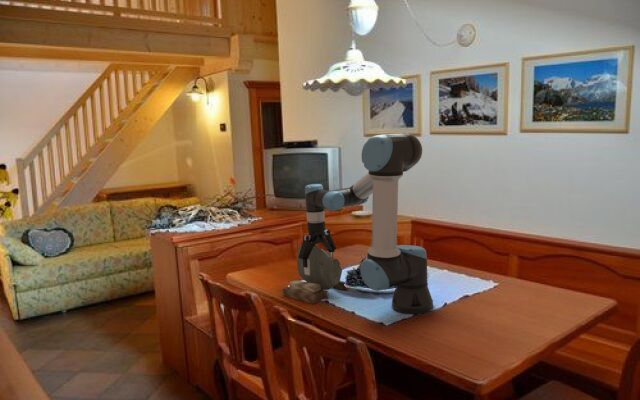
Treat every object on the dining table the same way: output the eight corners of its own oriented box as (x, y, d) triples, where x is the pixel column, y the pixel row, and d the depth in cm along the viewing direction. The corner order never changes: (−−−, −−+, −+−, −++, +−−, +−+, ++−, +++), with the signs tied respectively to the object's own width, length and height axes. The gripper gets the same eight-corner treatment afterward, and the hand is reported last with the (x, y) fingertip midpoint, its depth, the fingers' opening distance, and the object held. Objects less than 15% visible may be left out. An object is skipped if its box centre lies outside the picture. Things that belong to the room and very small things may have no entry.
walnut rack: (349, 289, 206) (348, 282, 205) (313, 304, 191) (312, 296, 190) (319, 282, 218) (318, 276, 218) (283, 295, 203) (282, 288, 203)
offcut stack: (321, 298, 197) (320, 284, 196) (315, 301, 194) (314, 287, 193) (295, 293, 206) (294, 279, 205) (289, 296, 203) (288, 282, 202)
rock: (347, 295, 198) (344, 247, 196) (336, 299, 194) (333, 251, 191) (306, 283, 218) (303, 239, 215) (295, 286, 214) (292, 242, 211)
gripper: (329, 215, 213) (332, 262, 216) (287, 225, 196) (291, 276, 199) (342, 217, 208) (345, 265, 211) (300, 227, 191) (303, 279, 194)
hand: (319, 270), depth 205 cm, fingers open, 13 cm apart
